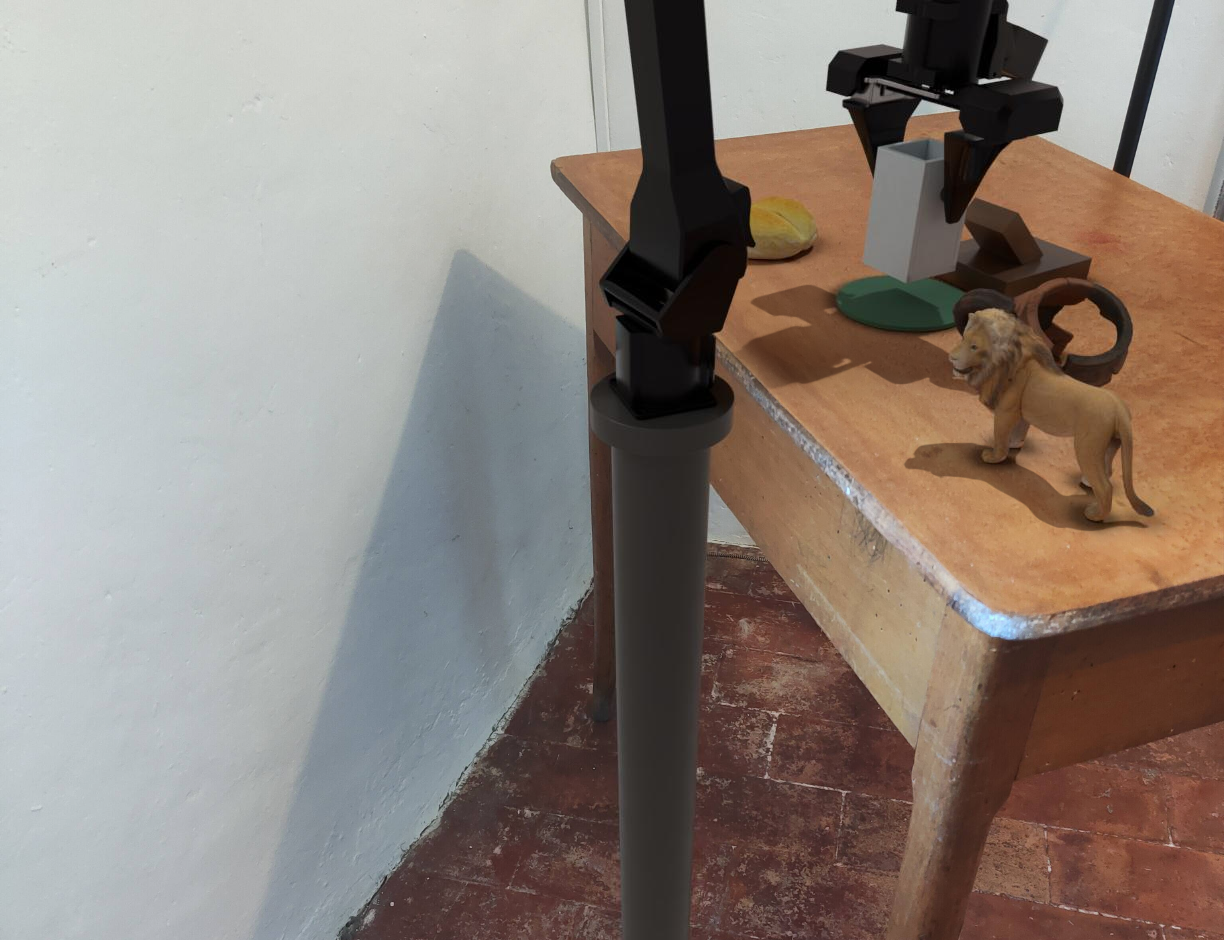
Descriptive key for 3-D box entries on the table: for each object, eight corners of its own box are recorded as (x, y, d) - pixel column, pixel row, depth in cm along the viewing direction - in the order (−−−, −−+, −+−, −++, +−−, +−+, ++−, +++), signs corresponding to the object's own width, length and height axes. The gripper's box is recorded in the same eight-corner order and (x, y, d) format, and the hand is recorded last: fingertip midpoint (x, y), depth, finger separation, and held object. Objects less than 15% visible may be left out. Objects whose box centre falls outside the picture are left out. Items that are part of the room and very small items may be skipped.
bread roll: (701, 247, 99) (702, 203, 96) (764, 224, 104) (767, 182, 101) (769, 270, 94) (772, 224, 92) (832, 245, 99) (837, 201, 96)
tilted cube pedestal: (1001, 305, 87) (1019, 225, 83) (924, 271, 93) (937, 195, 89) (1086, 281, 91) (1107, 202, 87) (1007, 250, 97) (1023, 175, 93)
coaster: (880, 340, 82) (881, 336, 82) (812, 290, 90) (812, 286, 90) (1000, 319, 85) (1001, 314, 85) (924, 272, 93) (924, 267, 93)
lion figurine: (918, 444, 70) (942, 312, 64) (967, 418, 72) (994, 289, 67) (1127, 540, 60) (1176, 396, 55) (1175, 506, 63) (1226, 366, 57)
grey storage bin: (879, 240, 78) (969, 123, 76) (815, 212, 83) (899, 102, 81) (934, 313, 85) (1018, 207, 83) (873, 283, 90) (950, 183, 88)
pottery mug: (1098, 359, 80) (1157, 288, 72) (1071, 460, 76) (1131, 397, 69) (946, 304, 81) (989, 229, 73) (913, 402, 77) (954, 333, 70)
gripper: (1147, -16, 70) (1085, 224, 80) (945, -45, 83) (913, 164, 92) (1026, 1, 66) (976, 252, 75) (833, -33, 78) (811, 185, 88)
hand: (918, 209), depth 83 cm, fingers closed on grey storage bin, 7 cm apart
